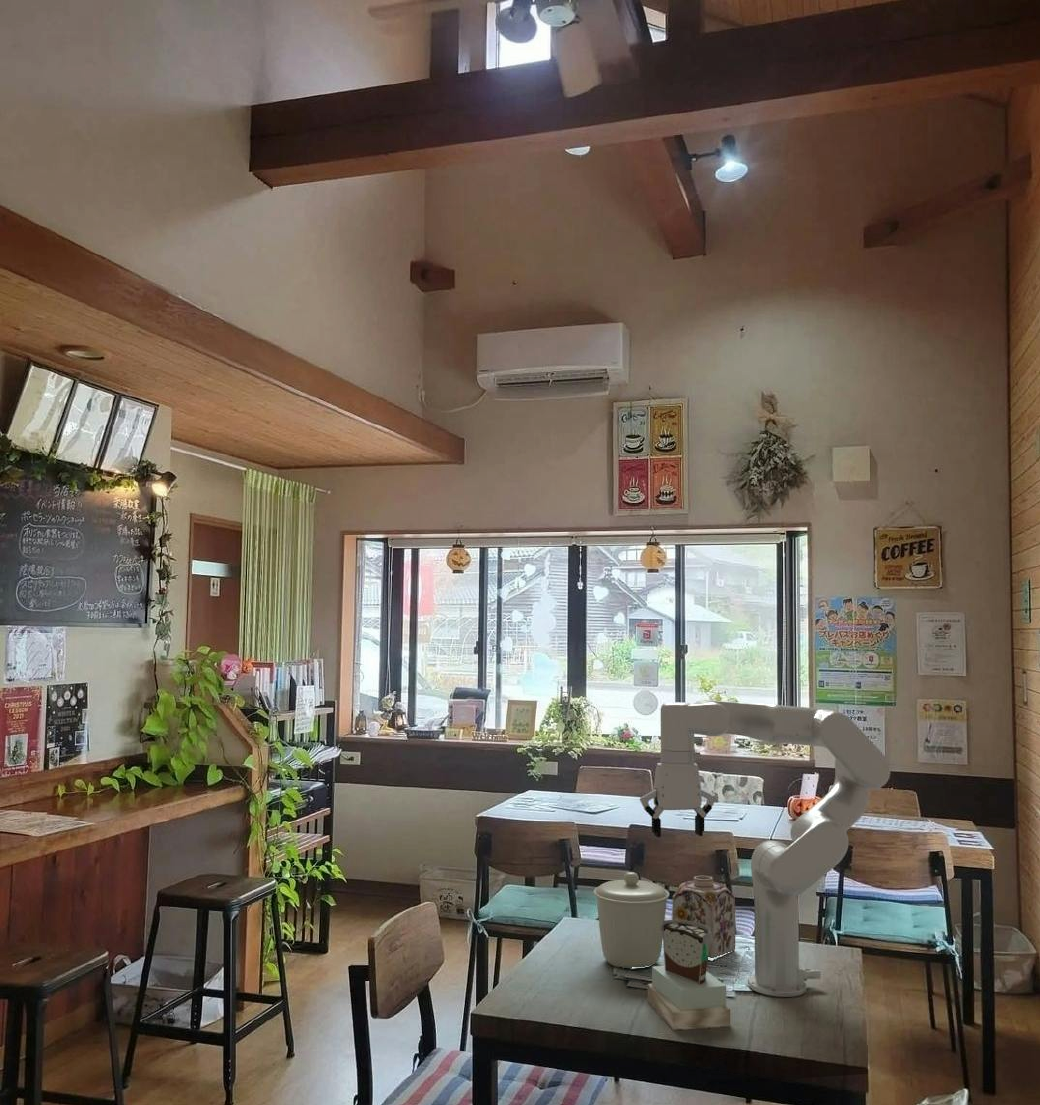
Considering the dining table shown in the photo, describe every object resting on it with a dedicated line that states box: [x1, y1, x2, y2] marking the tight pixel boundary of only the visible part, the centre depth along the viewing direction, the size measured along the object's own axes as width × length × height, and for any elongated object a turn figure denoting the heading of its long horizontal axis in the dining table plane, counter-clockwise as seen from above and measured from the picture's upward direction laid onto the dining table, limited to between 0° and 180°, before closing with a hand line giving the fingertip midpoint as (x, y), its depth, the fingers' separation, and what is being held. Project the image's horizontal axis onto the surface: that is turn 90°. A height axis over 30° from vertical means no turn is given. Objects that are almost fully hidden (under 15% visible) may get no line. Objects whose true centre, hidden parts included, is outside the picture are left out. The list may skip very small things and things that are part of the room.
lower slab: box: [647, 983, 731, 1031], centre depth 203 cm, size 12×16×4 cm
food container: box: [660, 919, 713, 984], centre depth 205 cm, size 12×6×10 cm, turn 39°
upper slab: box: [651, 965, 727, 1011], centre depth 204 cm, size 10×14×4 cm
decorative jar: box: [671, 875, 736, 958], centre depth 243 cm, size 12×12×18 cm
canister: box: [593, 871, 671, 969], centre depth 235 cm, size 18×18×21 cm
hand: (678, 835), depth 219 cm, fingers open, 9 cm apart
